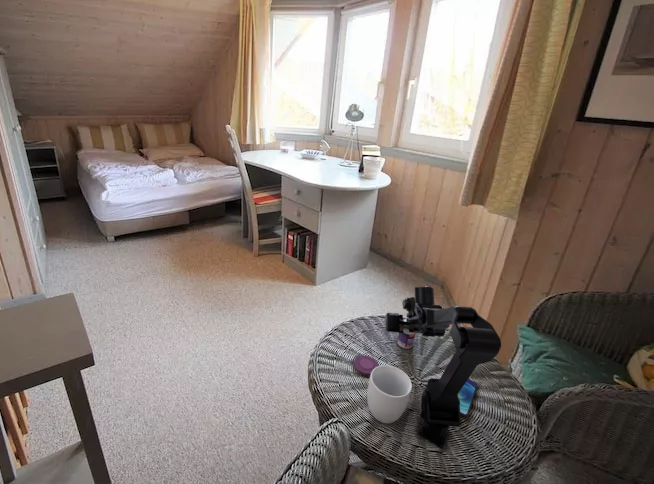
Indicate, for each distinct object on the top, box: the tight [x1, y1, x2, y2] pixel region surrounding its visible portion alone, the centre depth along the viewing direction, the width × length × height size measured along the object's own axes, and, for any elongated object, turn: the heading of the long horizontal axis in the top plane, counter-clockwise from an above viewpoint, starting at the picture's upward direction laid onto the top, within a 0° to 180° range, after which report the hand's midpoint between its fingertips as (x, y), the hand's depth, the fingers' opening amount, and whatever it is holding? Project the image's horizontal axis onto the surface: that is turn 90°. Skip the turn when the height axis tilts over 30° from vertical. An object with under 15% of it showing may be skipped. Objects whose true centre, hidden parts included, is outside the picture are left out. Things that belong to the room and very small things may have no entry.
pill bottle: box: [396, 318, 417, 350], centre depth 125 cm, size 5×5×10 cm
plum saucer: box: [353, 354, 380, 377], centre depth 117 cm, size 8×8×1 cm
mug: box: [366, 364, 413, 424], centre depth 100 cm, size 15×11×13 cm
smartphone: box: [458, 378, 478, 418], centre depth 108 cm, size 8×1×15 cm
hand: (407, 326), depth 126 cm, fingers closed on pill bottle, 5 cm apart
